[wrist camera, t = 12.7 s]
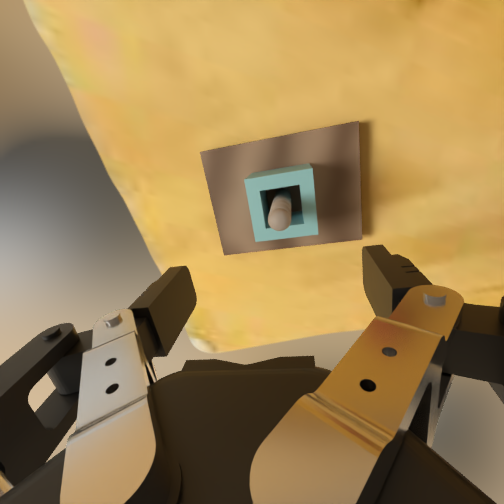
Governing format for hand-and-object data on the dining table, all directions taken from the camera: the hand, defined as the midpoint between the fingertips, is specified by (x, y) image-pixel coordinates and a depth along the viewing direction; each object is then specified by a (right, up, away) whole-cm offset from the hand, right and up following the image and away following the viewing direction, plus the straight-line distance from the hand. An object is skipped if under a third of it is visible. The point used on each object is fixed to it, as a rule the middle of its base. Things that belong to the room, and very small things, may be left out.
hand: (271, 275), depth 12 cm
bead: (+3, +7, +17) cm, 18 cm away
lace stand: (+3, +8, +18) cm, 20 cm away
